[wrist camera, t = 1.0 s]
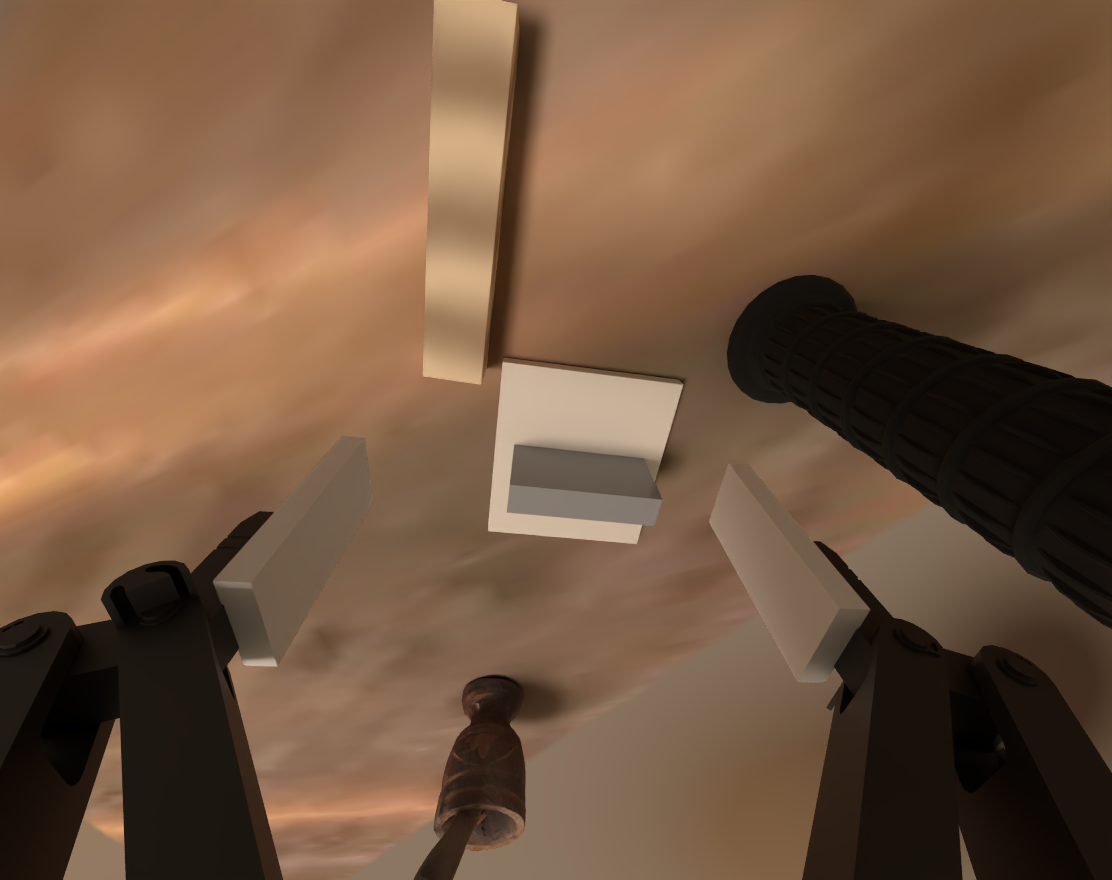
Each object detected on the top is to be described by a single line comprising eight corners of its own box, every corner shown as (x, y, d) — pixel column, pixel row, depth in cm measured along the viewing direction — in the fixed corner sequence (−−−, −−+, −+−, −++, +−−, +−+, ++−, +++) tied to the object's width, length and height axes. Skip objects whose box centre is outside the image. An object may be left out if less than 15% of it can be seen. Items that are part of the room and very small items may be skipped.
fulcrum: (504, 357, 33) (495, 390, 26) (678, 379, 34) (711, 416, 28) (489, 522, 40) (479, 580, 34) (634, 535, 41) (651, 593, 35)
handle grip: (751, 266, 30) (711, 396, 35) (1463, 426, 7) (1063, 758, 12) (880, 284, 31) (825, 408, 36) (1900, 476, 8) (1368, 767, 12)
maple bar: (450, 18, 24) (434, -16, 21) (520, 35, 25) (517, 4, 21) (435, 359, 33) (422, 376, 30) (487, 367, 34) (480, 384, 30)
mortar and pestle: (421, 685, 51) (359, 936, 33) (467, 649, 48) (425, 900, 30) (496, 722, 55) (476, 963, 37) (542, 690, 52) (544, 933, 34)
